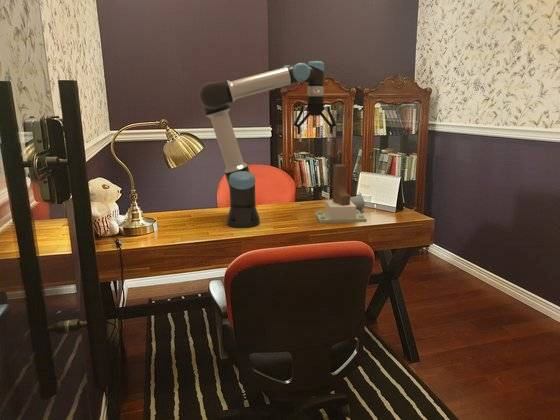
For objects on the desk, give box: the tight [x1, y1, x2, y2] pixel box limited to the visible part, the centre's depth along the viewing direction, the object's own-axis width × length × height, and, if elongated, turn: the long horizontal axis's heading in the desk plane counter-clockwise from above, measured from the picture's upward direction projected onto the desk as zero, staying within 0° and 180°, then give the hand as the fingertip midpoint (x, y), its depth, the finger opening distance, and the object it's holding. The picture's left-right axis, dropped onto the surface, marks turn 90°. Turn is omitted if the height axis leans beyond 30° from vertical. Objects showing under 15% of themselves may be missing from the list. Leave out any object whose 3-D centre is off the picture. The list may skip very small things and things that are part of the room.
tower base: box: [314, 199, 368, 224], centre depth 212 cm, size 22×14×8 cm, turn 94°
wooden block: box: [332, 163, 351, 206], centre depth 209 cm, size 9×4×18 cm, turn 22°
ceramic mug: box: [350, 195, 365, 214], centre depth 225 cm, size 11×8×8 cm
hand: (314, 141), depth 215 cm, fingers open, 13 cm apart
